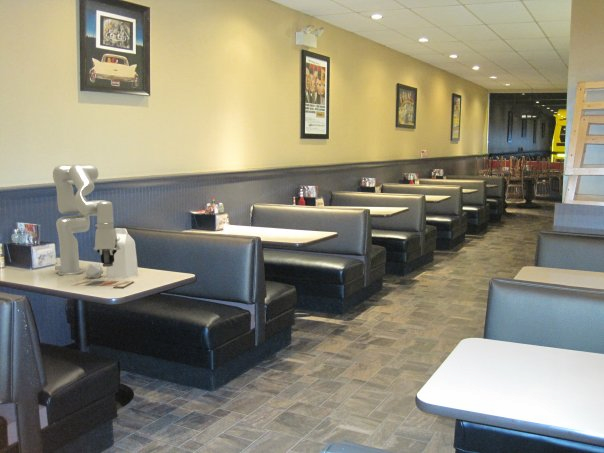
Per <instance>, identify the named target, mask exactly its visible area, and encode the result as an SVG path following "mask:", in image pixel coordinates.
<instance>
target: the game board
mask: <svg viewBox="0 0 604 453" xmlns="http://www.w3.org/2000/svg"><path fill="white" fill-rule="evenodd" d="M134 283H135V281H133V280H132V281H130V280H128V281H127V280H126V281H125V280H124V281H123V280H122V281H121V280H80V281H76V282H75V283H73V284H72V286H77V287H78V286H79V287H80V286H85V287H87V286H88V287H89V286H90V287H98V286H99V287H112V289H125V288H127V287H129V286H130V285H132V284H134Z"/></svg>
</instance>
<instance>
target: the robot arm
mask: <svg viewBox="0 0 604 453" xmlns="http://www.w3.org/2000/svg"><path fill="white" fill-rule="evenodd" d="M98 177H99V170H98V168H97V166H96V165H94V164H91V163H89V164H85V163H84V164H61V165H57V166H55V167H54V168H53V171H52V179H53V182H54V185H55V187H56V200H57V209H58V211H59V213H60V214H62V215H67V216H62V217H60V218H59V217H58V219H57V220H56V222H55V225H56V231H57V235H58V243H59V258H60V259H59V260H60V262H59V263H60V265H55V266H54V270H57V271H58V272H57V274H58V275H60V276H65V275H80V274H82V273H83V269H80V256H79V241H78V238H76V237H75V235H74V234H78V233H85V232H89V229H90V227H91V226H90V225H91V223H90V222H91V220H90V217H92V216H93V217H95V216H96V220H97V221H96V222H97V223H95V224H94V226H95V227H97V229H96V230H95V236H94V240H95V241H94V247H93V250H94V251H96V252H97V253H98V254H99V255H100V261H101V263H102V264H103V263H104V255H103V252H104V251H103V249H109V250H110V256H109V259H110V263H113V262H114V254H115V253H116V252H117V251H118V250H120V247H119V245H118V242H117V235H116V231H115V229H116V228H114V225H115V224H114V211H113V210H114V209H113V208H114V207H113V203H112V202H111V201H109V200H105V199H100V200H99V199H98V200H88V199H87V198H86V196H87V195H89V194H91V193H92V192H93V191H94V190H95V183H94V182H93V181H95V180H97V179H98ZM70 182H73V184H74V186H75V188H76V189H77V191H76V193H74V192H75V191H74V187H73V184H71V183H70ZM69 214H70V215H69ZM71 214H77V215H71ZM114 248H116V249H115V250H114Z"/></svg>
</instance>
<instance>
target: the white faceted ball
mask: <svg viewBox="0 0 604 453" xmlns="http://www.w3.org/2000/svg"><path fill="white" fill-rule="evenodd" d="M84 272H85V274H86V277H87V279H100V278H101V276H103V273H104V271H103V268H102V266H101V265H100V263H89V264H88V266H87V267H86V268H85V270H84Z"/></svg>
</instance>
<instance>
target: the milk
mask: <svg viewBox="0 0 604 453" xmlns="http://www.w3.org/2000/svg"><path fill="white" fill-rule="evenodd" d="M114 229H115V231H116V235H117V242H118V245H119V247H120V250H118V251H117V252H116V253H115V254H114V262H113V266H109V267H106V278H121V279H122V278H123V279H127V278H130V277H134V276H135V277H137V276H139V267H138V256H137V248H136V247H137V246H136V242H135V239H134V238H133V237H132V236H131V235H130V234H129V233H128V230H127V228H118V227H116V228H114ZM115 249H116V248H114V250H115Z"/></svg>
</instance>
